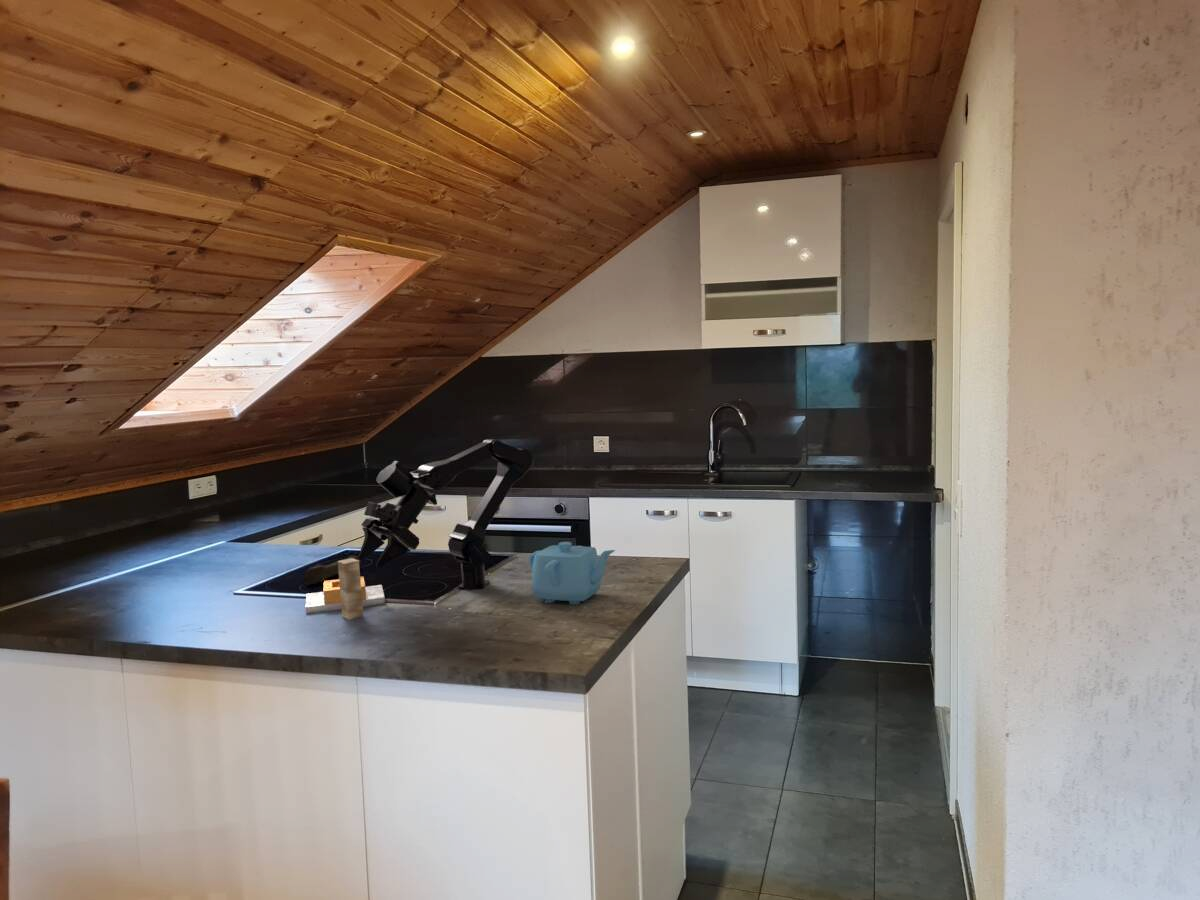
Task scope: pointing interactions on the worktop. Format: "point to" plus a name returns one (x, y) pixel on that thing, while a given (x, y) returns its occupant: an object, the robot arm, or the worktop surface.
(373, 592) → the bracket plate
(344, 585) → the tan block
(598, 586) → the teapot
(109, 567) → the worktop surface
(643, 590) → the worktop surface
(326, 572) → the hand tool
